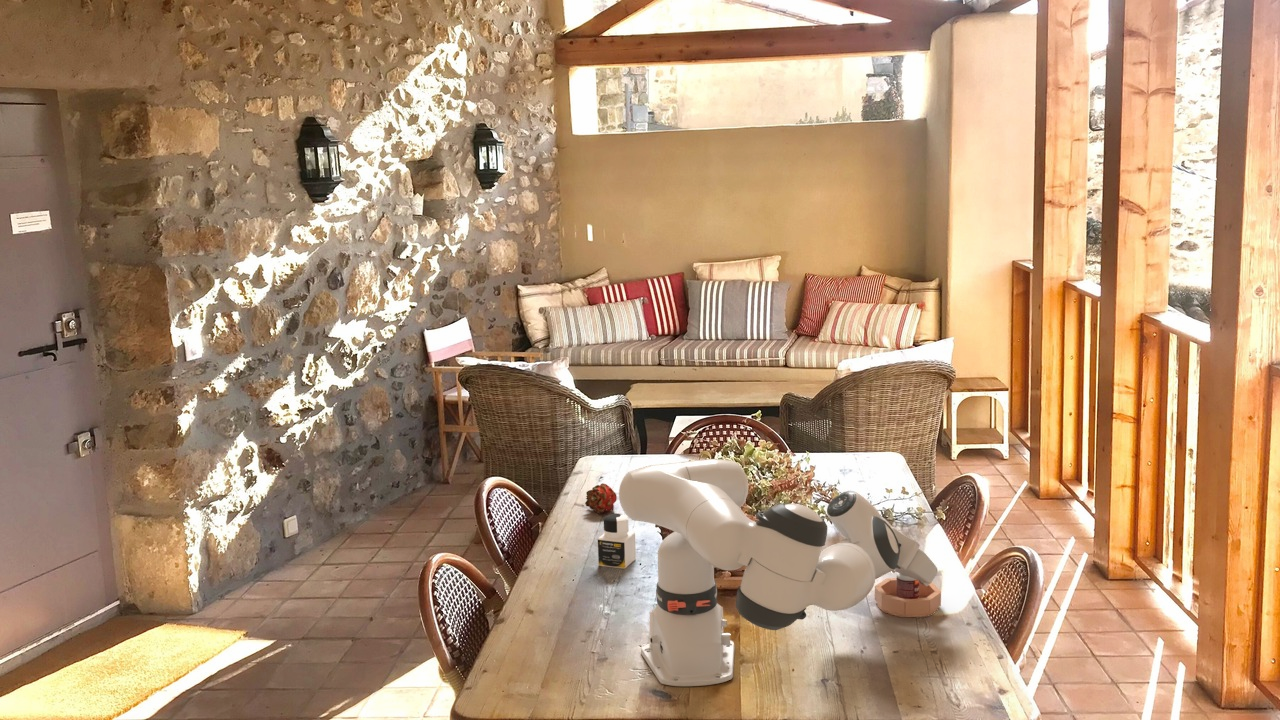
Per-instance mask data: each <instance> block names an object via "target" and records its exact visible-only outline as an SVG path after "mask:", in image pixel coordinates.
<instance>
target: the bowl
mask: <svg viewBox="0 0 1280 720" xmlns="http://www.w3.org/2000/svg"><path fill="white" fill-rule="evenodd" d="M874 600H875V601H876V606H877V608H878V609H879V610H880V609H881V610H880V611H881V612H883V613H885V614H887V613H888V615H890V616H893V615H894V616H893V617H898V616H900V618H904V617H921V618H925V616H926V617H929V616H928V615H930V616H932V615H934V614H935V613H934V612H936V611H937V609H938V610H939V607H941V606H942V591H941V590H940V589H939V588H938V587H937V585H935V584H934V582H933V581H932V582H931V583H930V584H929V585H928V586H925V585H923V584H921V583H920V582H919V598H918V599H903V598H899V597H897V577H892V578H891V577H889V578H885V579H884V580H882V581H880V582H879V583H877V584H875V585H874ZM937 612H938V611H937ZM937 612H936V613H937ZM933 613H934V614H933ZM931 614H932V615H931Z"/></svg>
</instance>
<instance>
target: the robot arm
mask: <svg viewBox="0 0 1280 720" xmlns="http://www.w3.org/2000/svg"><path fill="white" fill-rule="evenodd" d="M748 494H749V481H748V477H747V474H746V472H745V470H744V469H743V467H742V466H741V465H740V464H739V463H738V462H736V461H735V460H727V459H717V458H708V459H697V460H696V459H695V460H689V461H688V460H687V461H680V462H673V463H671V462H670V463H661V464H660V463H659V464H653V465H652V464H651V465H648V466H643V467H640V468H637V469H633V470H631V471H628V472H627V473H626V474H625V475H624V476H623V478H622V480H621V482H620V484H619V489H618V500H619V504H620V507H621V509H622V511H623V512H624V514H625V515H626V516H627V517H628V519H631V521H637V522H643V523H648V524H653V525H656V526H659V527H663V528H665V529H668V530H670V531H673V532H671V533H670V534H668V535H667V536H666V537H665V538H664V539H663V540H662V541H661V543H660V544H659V547H658V550H657V577H658V579H657V583H656V589H655V595H656V605H655V606H654V608H653V609H651V611H650V612H649V643H647V644H645V645H643V646H641V648H640V654H641V656H642V658H644V660H645V662H646V663H647V664H648V665H647V666H649V668H650V670H651V671H652V672H653V674H654V675H655V677H656V679H657V680H658V682H659V683H660V684H662V685H667V686H673V687H699V686H702V687H703V686H710V685H711V686H712V685H717V684H721V683H725V682H727V681H729V680H732V679H733V677H734V663H735V643H734V640H731V633H729V632H724V628H727V626H728V619H724V608H723V606H721V605H720V604H719V603H718V588H717V583H716V581H715V568H717V569H719V570H722V571H735V570H739V569H741V567H743V566H746V568H744V572H743V575H742V580H741V584H740V585H739V586H738V588H737V592H736V598H735V608H736V609H737V611H738V613H739V614H740V616H741V617H742V618H744V619H745V620H746V621H748V622H749V623H751V624H752V625H754V626H756V627H758V628H760V629H765V630H770V631H778V630H781V629H784V628H787V627H790V626H791V625H792V624H793V623H795V622H796V621H797V620H804V619H805V618H807V613H806V610H807V607H809V606H817V607H819V608H821V609H822V610H825V611H831V612H832V611H834V612H835V611H836V612H838V611H844V610H848V609H850V608H853V607H854V606H857V605H858V604H860V603H861V602H862V601H863V600H864V599H865V598H866V597H867V596H868V595H869V594H870V593H871V591H872V589H873V588H874V587H875V583H876V582H875V581H876V580H877V579H879V578H880V577H883V576H884V575H886V574H889V573H892V574H895V573H901V574H904V575H906V576H909V577H911V578H914V579H917V580H919V582H920V583H921V584H923V585H925V586H928V585H929V584H930V583H931V582H932V583H933V581H934V579H935V578H936V575H937V573H938V567H937V566H936V565H935V563H934V562H933V560H931V558H930V557H929V556H928V554H927V553H925V552H924V551H923V550H921V548H920V545H921V544H919V542H918V541H917V540H915V539H913V538H912V537H909V536H908V535H906V534H904V533H902V532H901V531H900V530H898V529H897V528H896V527H895V526H892V525H891V523H890V522H889V521H888V520H887V519H885V518H883V517H882V516H881V513H880V512H879V511H878V509H877V508H876V507H875V506H874V505H873V504H872V503H871V502H870V501H869V500H868V499H866V498H865V497H864V496H863V495H861V494H860V493H859V492H856V491H853V490H847V491H843V492H841V493H839V494H838V495H836V496H835V497H833V498H832V500H830V502H829V504H828V505H827V507H826V513H827V514H826V515H827V517H828V518H829V520H830V521H831V524H833V526H834V527H835V529H837V531H838V532H839V533H840V534H841V536H842V537H843V538H845V539H844V540H842V541H840V542H838V543H835V544H832V545H830V546H827V547H826V548H823V547H824V546H825V545H826V542H827V537H828V525H827V523H826V521H825V520H824V518H823V517H822V516H820V515H819V514H818V513H817V512H816V511H814V510H813V509H812V508H809V507H808V506H805V505H803V504H799V503H789V502H782V503H778V504H775V505H772V506H771V507H769V508H768V509H766V510H760V511H758V512H757V513H756V514H755V517H756V518H755V519H758V521H755V520H752V519H751V518H750V517H748V516H747V515H746V514H745V513H744V511H743V510H742V509H741V507H742V506H743V505H744V503H745V502H746V499H747V497H748Z"/></svg>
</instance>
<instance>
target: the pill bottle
mask: <svg viewBox="0 0 1280 720" xmlns="http://www.w3.org/2000/svg"><path fill="white" fill-rule="evenodd" d="M896 578H897V597H899V598H903V599H918V598H919V580H917V579H914V578H911V577H909V576H906V575H904V574H901V573H898V572H896Z"/></svg>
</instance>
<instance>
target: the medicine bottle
mask: <svg viewBox="0 0 1280 720" xmlns="http://www.w3.org/2000/svg"><path fill="white" fill-rule="evenodd" d="M636 550H637V549H636V532H635V531H630V530H629V517H628V516H627V515H626V514H623V513H610V514H608V515H605V516H604V517H603V534H602V535H600V536H599V537H598V538H597V555H598V556H597V558H598V561H597V562H598V566H599V567H606V568H615V569H623V570H625V569H626V568H627V567H629V566H630V565H631V564H632V563H633V562H634V561H635V560H636V559H637V555H636V554H637V553H636Z"/></svg>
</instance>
